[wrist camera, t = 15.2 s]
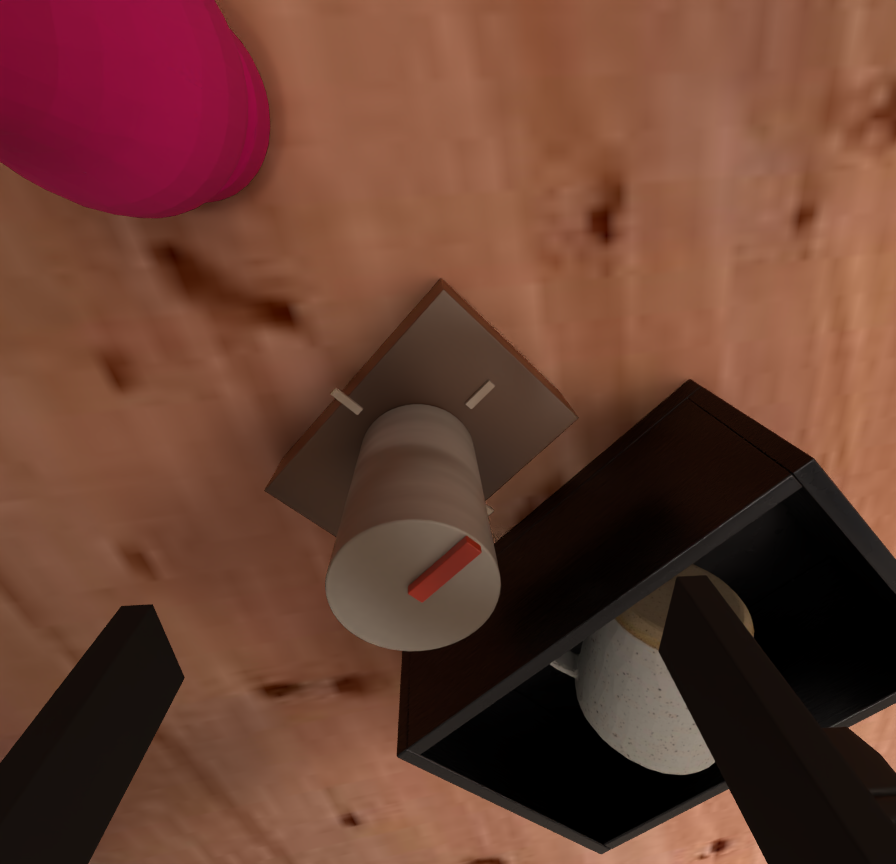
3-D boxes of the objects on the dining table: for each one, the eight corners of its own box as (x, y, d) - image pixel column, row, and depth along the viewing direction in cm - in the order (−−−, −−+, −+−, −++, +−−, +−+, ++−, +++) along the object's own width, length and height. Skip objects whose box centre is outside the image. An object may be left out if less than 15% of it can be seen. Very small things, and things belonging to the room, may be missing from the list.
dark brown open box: (563, 718, 34) (601, 855, 27) (403, 620, 29) (395, 757, 22) (834, 543, 28) (978, 661, 20) (690, 378, 22) (814, 458, 15)
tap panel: (409, 545, 26) (408, 586, 23) (272, 451, 23) (250, 485, 20) (568, 400, 23) (589, 428, 20) (430, 267, 20) (431, 277, 17)
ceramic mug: (710, 542, 26) (811, 664, 19) (678, 644, 29) (753, 778, 22) (522, 545, 25) (555, 670, 19) (513, 648, 29) (537, 784, 22)
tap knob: (422, 520, 22) (421, 683, 14) (337, 460, 20) (285, 607, 13) (497, 451, 20) (539, 592, 13) (412, 379, 19) (403, 493, 11)
